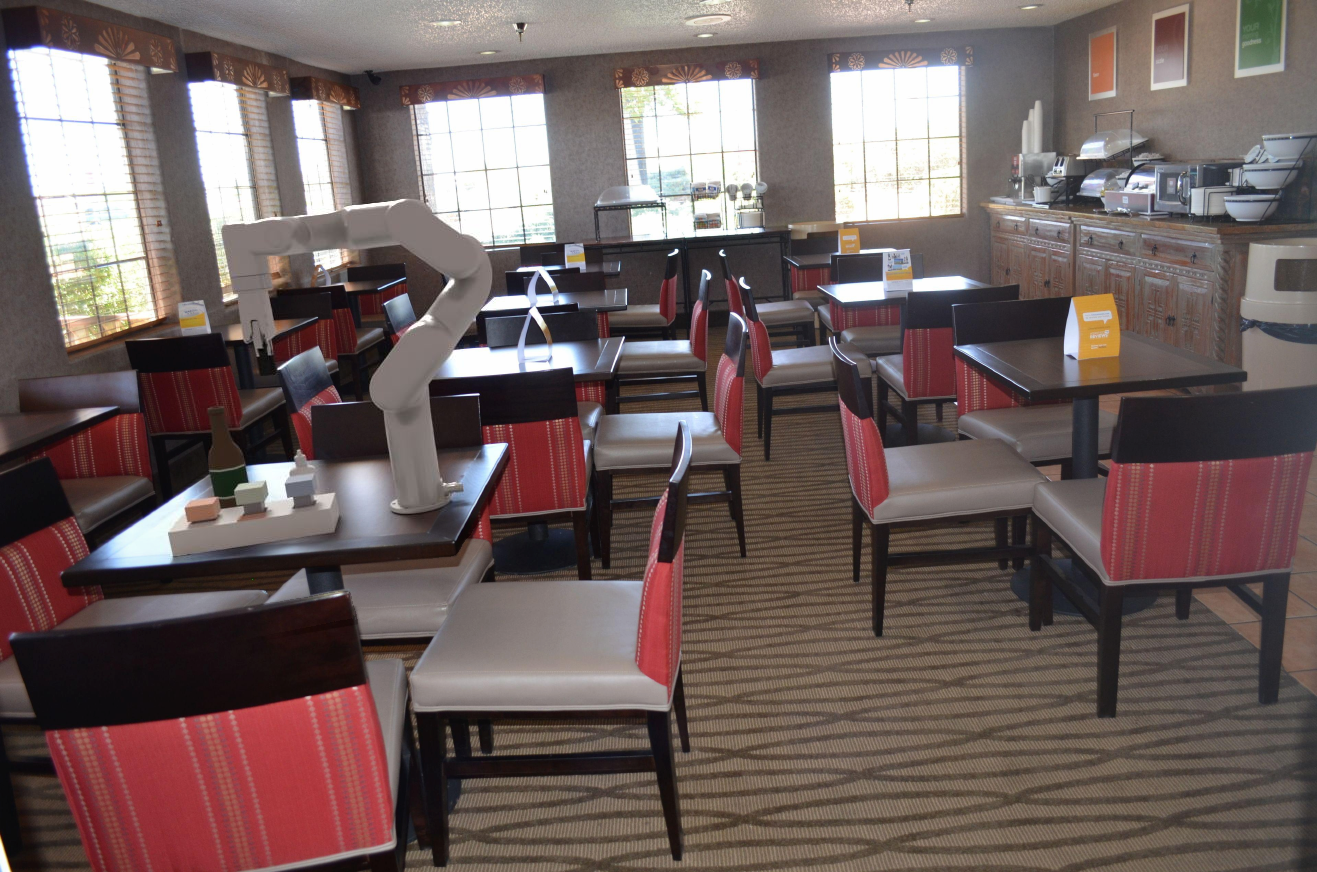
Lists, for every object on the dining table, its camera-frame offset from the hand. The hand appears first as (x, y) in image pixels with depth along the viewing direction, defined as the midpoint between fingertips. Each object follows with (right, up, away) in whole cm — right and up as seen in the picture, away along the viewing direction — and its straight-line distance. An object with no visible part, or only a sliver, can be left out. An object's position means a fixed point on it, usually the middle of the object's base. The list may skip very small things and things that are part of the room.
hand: (268, 374), depth 195 cm
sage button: (-1, -30, -2) cm, 30 cm away
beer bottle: (-14, -30, +16) cm, 36 cm away
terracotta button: (-10, -33, -4) cm, 35 cm away
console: (-1, -33, -2) cm, 33 cm away
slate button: (+8, -29, 0) cm, 30 cm away
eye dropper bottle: (+1, -27, +20) cm, 34 cm away
